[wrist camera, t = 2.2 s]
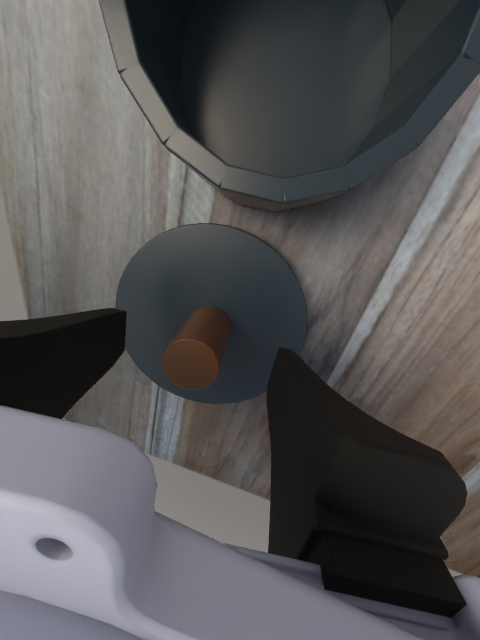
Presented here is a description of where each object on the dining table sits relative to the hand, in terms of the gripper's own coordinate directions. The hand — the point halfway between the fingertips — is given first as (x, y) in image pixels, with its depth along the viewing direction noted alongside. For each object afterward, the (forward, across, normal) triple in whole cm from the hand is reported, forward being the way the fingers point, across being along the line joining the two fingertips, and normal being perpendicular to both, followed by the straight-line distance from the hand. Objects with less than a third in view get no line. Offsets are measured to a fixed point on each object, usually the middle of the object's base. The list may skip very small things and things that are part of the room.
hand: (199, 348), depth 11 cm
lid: (+3, 0, 0) cm, 3 cm away
